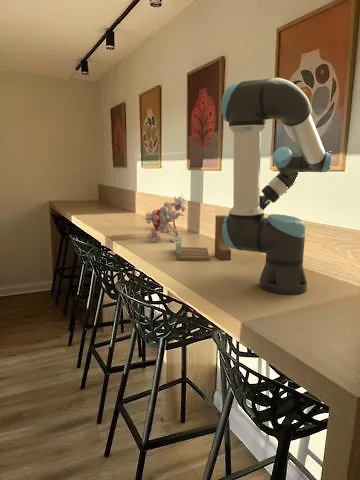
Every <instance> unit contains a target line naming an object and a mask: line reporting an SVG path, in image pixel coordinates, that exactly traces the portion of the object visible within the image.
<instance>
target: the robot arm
mask: <svg viewBox="0 0 360 480" xmlns="http://www.w3.org/2000/svg"><path fill="white" fill-rule="evenodd" d="M311 105H312V104H311V103H310V101H309V98H308V97H307V95H306V93H305V92H303V90H302V89H301V88H299V87H298V86H297V85H296V84H295V83H293V82H291V81H289V80H288V79H284V78H281V77H270V78H259V79H252V80H244V81H243V80H241V81H238V82H234V83H232V84H230V85H228V86H227V87H226V89H225V91H224V93H223V96H222V98H221V105H220V109H221V110H220V111H221V115H222V118H223V120H224V121H225V122H226V123H228V128H229V130H231V132H232V133H233V192H232V193H233V200H232V201H233V206H232V208H231V209H230V210H229V211H228V215H225V216H226V217H225V219H224V221H223V223H224V224H222V235H223V239H224V241H225V243H226V244H227V245H228V246H229V248H230V249H234V250H237V251H244V252H245V251H247V252H252V253H260V254H265V264H264V267H263V269H262V272H261V274H260V277H259V279H258V286H259V288H261V289H263V290H264V291H266V292H270V293H275V294H280V295H298V294H299V295H300V294H302V293H305V292H306V291H307V290H308V289H307V288H308V281H307V277H306V273H305V269H304V265H303V264H304V255H305V254H304V252H305V240H306V236H307V235H306V223H305V222H304V220H302V219H301V218H298V217H296V216H291V215H287V214H277V213H272V214H268V216H267V217H265V209H266V208H267V207H268V206H269V205H270V204H271V203H276V202H277V201H278V200H279V199H280V196H281V197H282V196H283V195H284V194H287V191H288V190H289V189H290V188H292V187H293V185H294V184H295V183H294V181H295V179H296V177H297V175H298V172H306V173H328V172H327V171H328V170H329V169H330V167H329V166H330V165H331V159H332V156H331V154H330V153H328V152H325V148H324V146H323V144H322V143H323V142H322V141H321V137H320V135H319V133H318V130H317V128H316V125H315V123H314V120H313V116H312V115H311V114H312V106H311ZM273 119H274V120H280V122H281V123H282V125H284V126H285V127H287V128H288V129H289V130H288V131H290V134H291V136H292V137H293V140H294V142H295V144H296V145H297V148H298V149H299V151H291V149H290V148H288V147H285V146H283V147H279V148H277V149H276V150H275V151H274V152H273V154H272V162H273V165H274V167H276V168H275V169H277V170H278V174H277V175H275V177H274V178H272V179H271V181H269V182H268V184H267V185H265V186H264V187H263V188H262V189H261V145H262V142H261V140H262V139H261V137H262V134H261V133H262V131H263V130H264V129H265V128H266V125H267V124H266V123H267V120H273ZM293 183H294V184H293ZM287 187H288V188H287ZM261 193H262V194H263V195H261Z"/></svg>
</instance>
